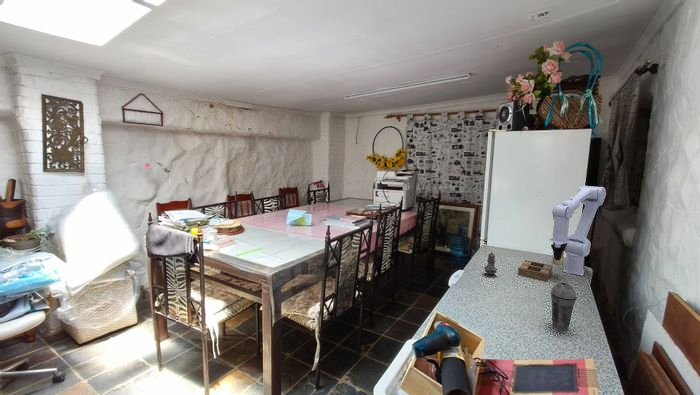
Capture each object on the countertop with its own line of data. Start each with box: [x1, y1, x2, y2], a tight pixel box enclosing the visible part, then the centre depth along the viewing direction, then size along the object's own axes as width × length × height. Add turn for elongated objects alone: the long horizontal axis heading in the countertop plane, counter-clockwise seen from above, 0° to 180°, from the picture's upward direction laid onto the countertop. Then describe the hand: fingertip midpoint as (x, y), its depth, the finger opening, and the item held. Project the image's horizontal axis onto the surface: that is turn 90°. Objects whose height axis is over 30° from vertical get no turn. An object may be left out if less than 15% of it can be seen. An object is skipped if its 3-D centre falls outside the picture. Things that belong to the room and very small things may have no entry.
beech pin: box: [551, 251, 565, 266], centre depth 143 cm, size 4×4×8 cm
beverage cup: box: [550, 271, 577, 332], centre depth 102 cm, size 7×7×20 cm
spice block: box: [517, 259, 554, 282], centre depth 150 cm, size 15×12×4 cm
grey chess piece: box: [483, 251, 498, 278], centre depth 147 cm, size 6×6×12 cm
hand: (557, 258), depth 144 cm, fingers closed on beech pin, 4 cm apart
